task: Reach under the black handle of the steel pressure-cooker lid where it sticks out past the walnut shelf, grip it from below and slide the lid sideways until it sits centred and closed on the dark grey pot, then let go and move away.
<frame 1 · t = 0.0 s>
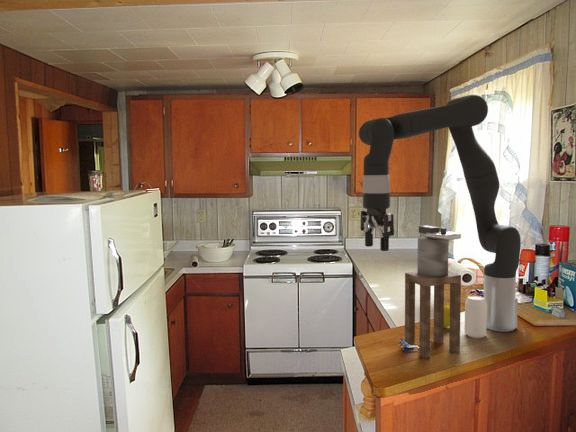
hand: (376, 248, 128), 29 cm above the countertop, tool pointing down, fingers open, 8 cm apart
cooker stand: (431, 349, 129), on the countertop
beverage can: (475, 336, 139), on the countertop
cooker lid: (437, 231, 129), point 34 cm above the countertop, slide at 3.5 cm
lemon: (445, 328, 146), on the countertop
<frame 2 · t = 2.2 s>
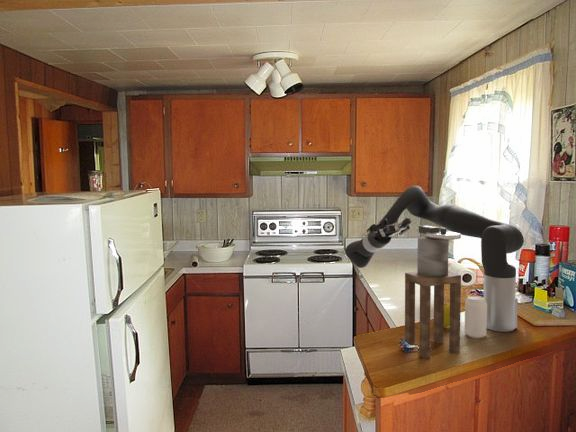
hand: (398, 220, 150), 34 cm above the countertop, tool pointing upward, fingers open, 8 cm apart
nothing on the countertop moved.
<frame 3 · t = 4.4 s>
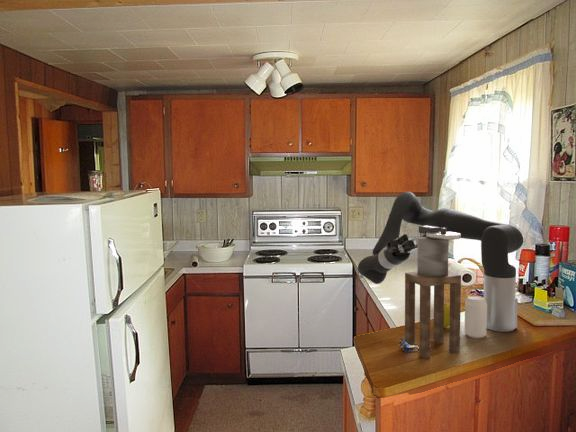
hand: (418, 235, 138), 31 cm above the countertop, tool pointing upward, fingers open, 8 cm apart
nothing on the countertop moved.
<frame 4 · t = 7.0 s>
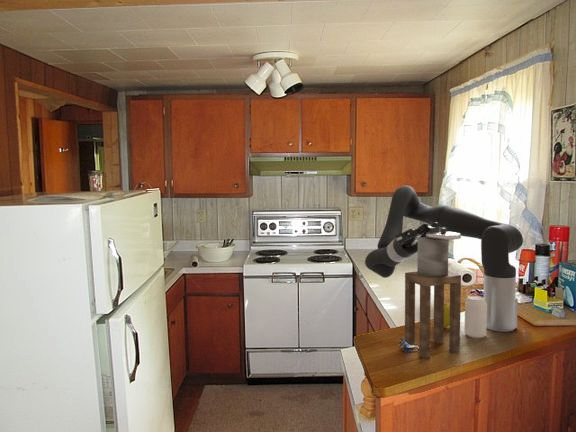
hand: (432, 225, 131), 35 cm above the countertop, tool pointing upward, fingers closed on cooker lid, 3 cm apart
cooker lid: (437, 231, 129), point 34 cm above the countertop, slide at 3.5 cm, touching gripper
everything else where it was.
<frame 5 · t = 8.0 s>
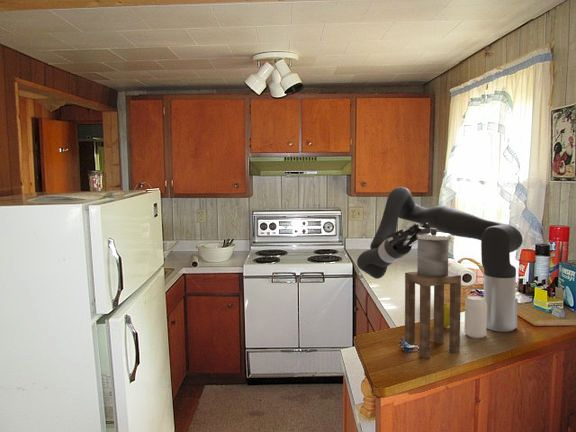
hand: (423, 226, 130), 35 cm above the countertop, tool pointing upward, fingers closed on cooker lid, 3 cm apart
cooker lid: (428, 232, 128), point 34 cm above the countertop, slide at 0.2 cm, touching gripper
everything else where it was.
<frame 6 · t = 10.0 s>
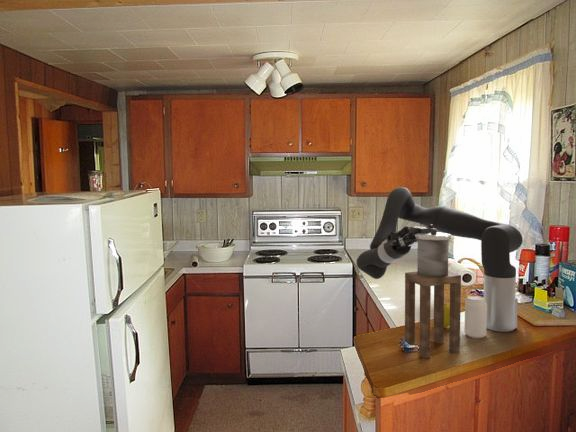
hand: (420, 228, 131), 34 cm above the countertop, tool pointing upward, fingers open, 8 cm apart
cooker lid: (428, 232, 128), point 34 cm above the countertop, slide at 0.2 cm
everything else where it was.
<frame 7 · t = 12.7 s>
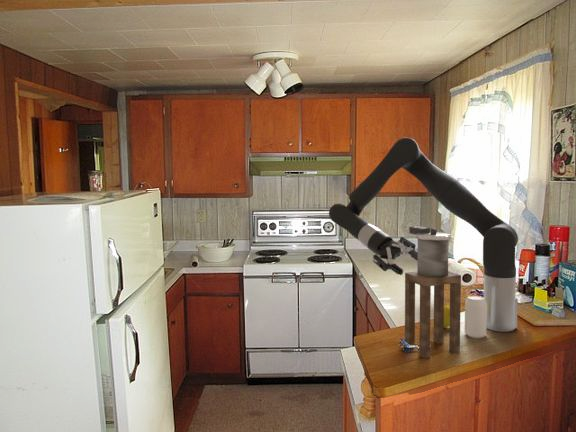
hand: (411, 266, 142), 21 cm above the countertop, tool tilted 65°, fingers open, 8 cm apart
nothing on the countertop moved.
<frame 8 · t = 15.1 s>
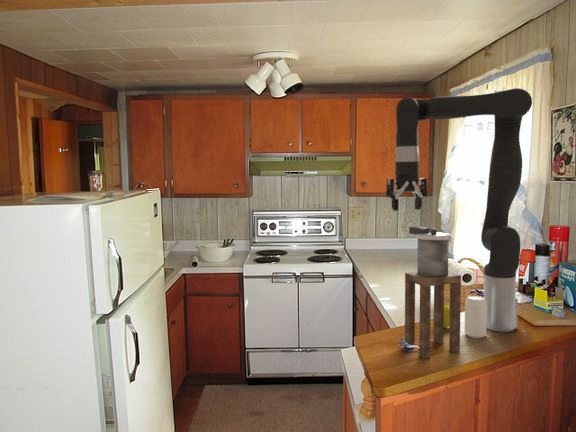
hand: (406, 210, 149), 38 cm above the countertop, tool pointing down, fingers open, 8 cm apart
nothing on the countertop moved.
at the end: cooker lid slide at 0.2 cm; the gripper is holding nothing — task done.
